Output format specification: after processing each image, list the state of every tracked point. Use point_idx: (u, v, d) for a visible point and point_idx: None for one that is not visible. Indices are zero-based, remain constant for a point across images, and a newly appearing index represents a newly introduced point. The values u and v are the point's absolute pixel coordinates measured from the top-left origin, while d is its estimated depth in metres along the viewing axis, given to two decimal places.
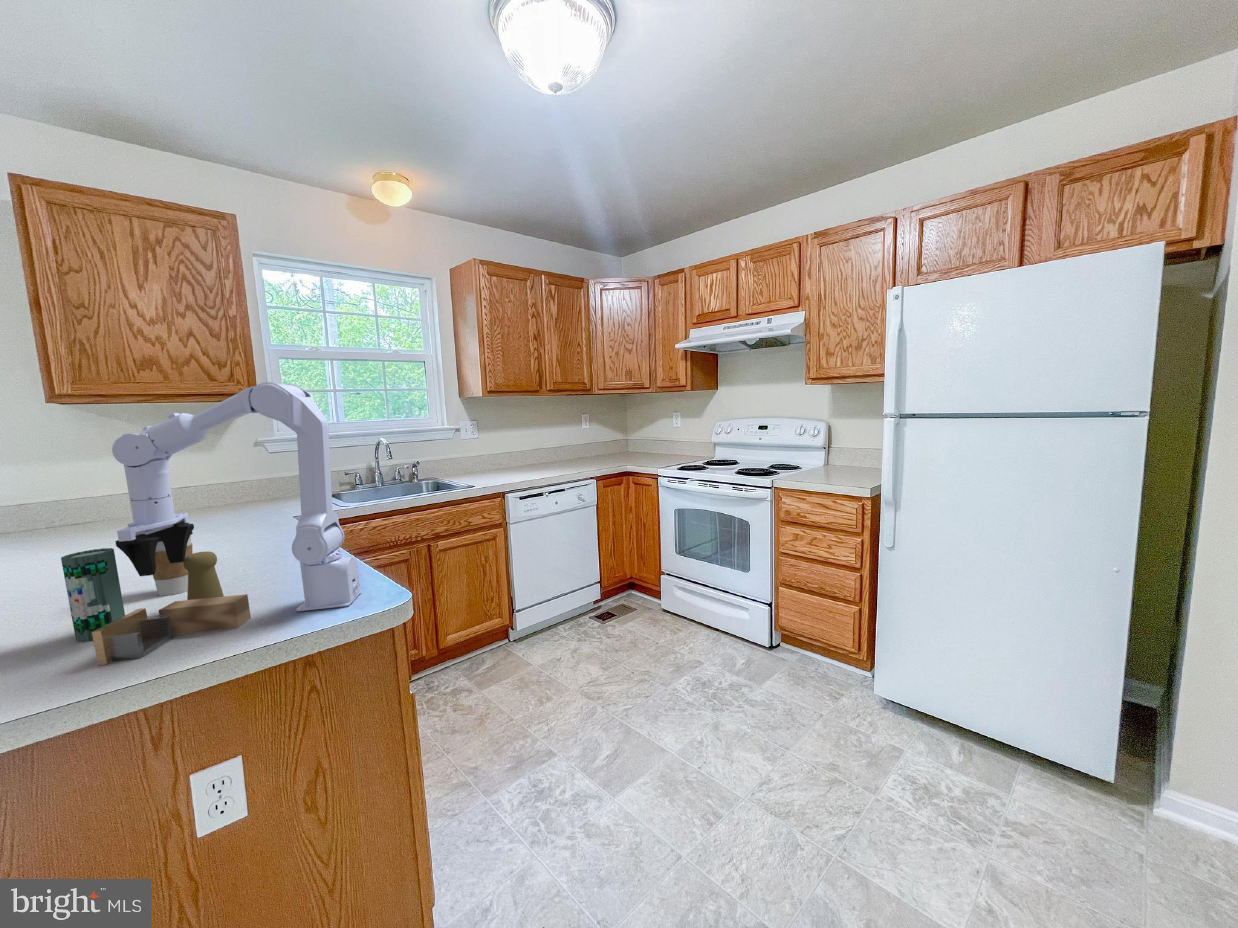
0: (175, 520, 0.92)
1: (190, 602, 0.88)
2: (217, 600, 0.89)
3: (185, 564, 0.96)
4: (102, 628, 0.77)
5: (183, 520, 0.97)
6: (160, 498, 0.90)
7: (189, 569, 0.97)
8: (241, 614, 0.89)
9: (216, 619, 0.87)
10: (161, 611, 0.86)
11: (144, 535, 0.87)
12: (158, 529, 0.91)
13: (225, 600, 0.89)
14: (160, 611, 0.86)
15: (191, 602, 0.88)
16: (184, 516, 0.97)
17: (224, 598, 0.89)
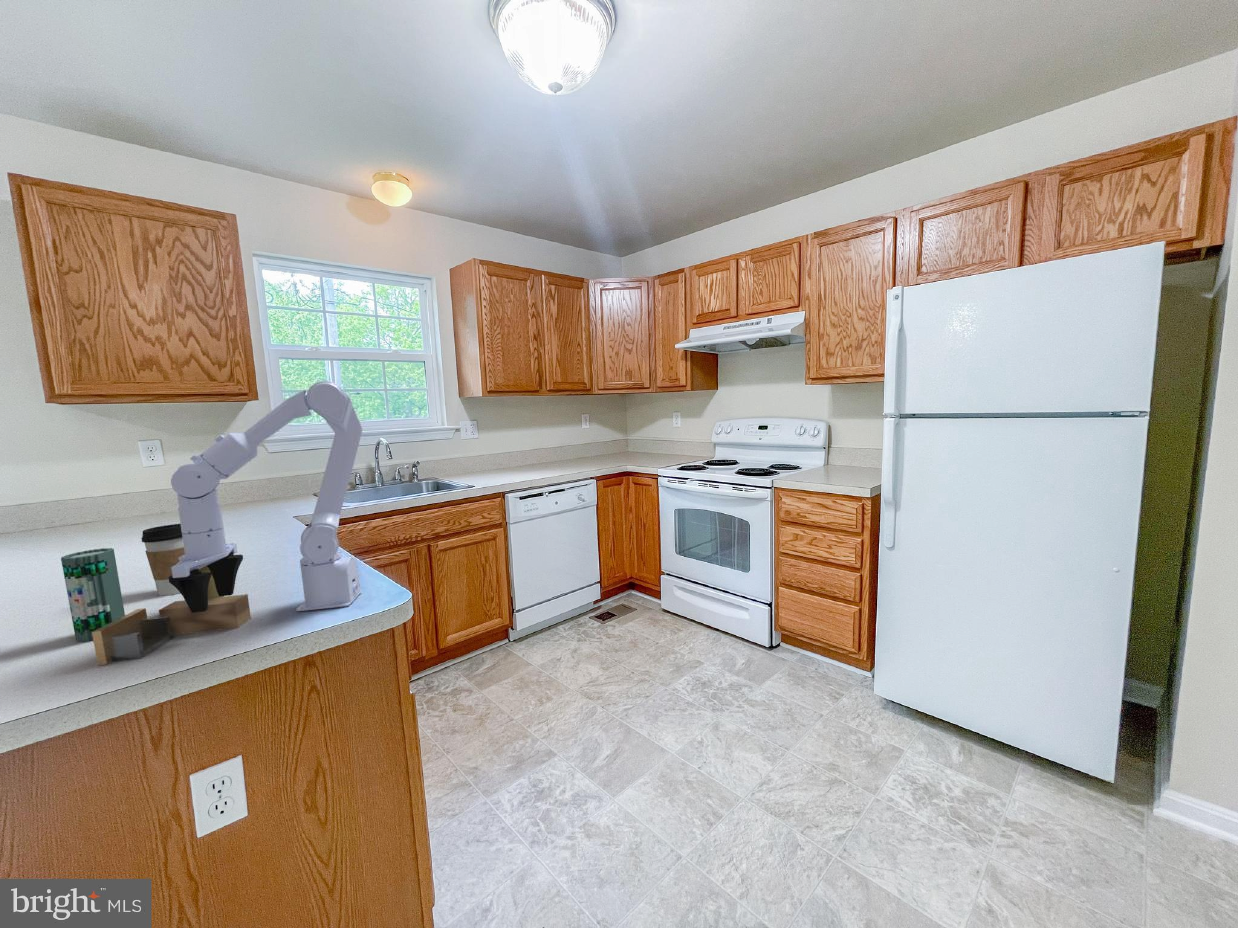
0: (227, 553, 0.89)
1: None
2: (217, 600, 0.89)
3: None
4: (102, 628, 0.77)
5: (232, 551, 0.94)
6: (213, 531, 0.86)
7: None
8: (241, 614, 0.89)
9: (217, 619, 0.87)
10: (161, 611, 0.86)
11: (197, 570, 0.84)
12: (209, 562, 0.88)
13: (225, 600, 0.89)
14: (160, 611, 0.86)
15: None
16: (233, 547, 0.94)
17: (224, 598, 0.89)
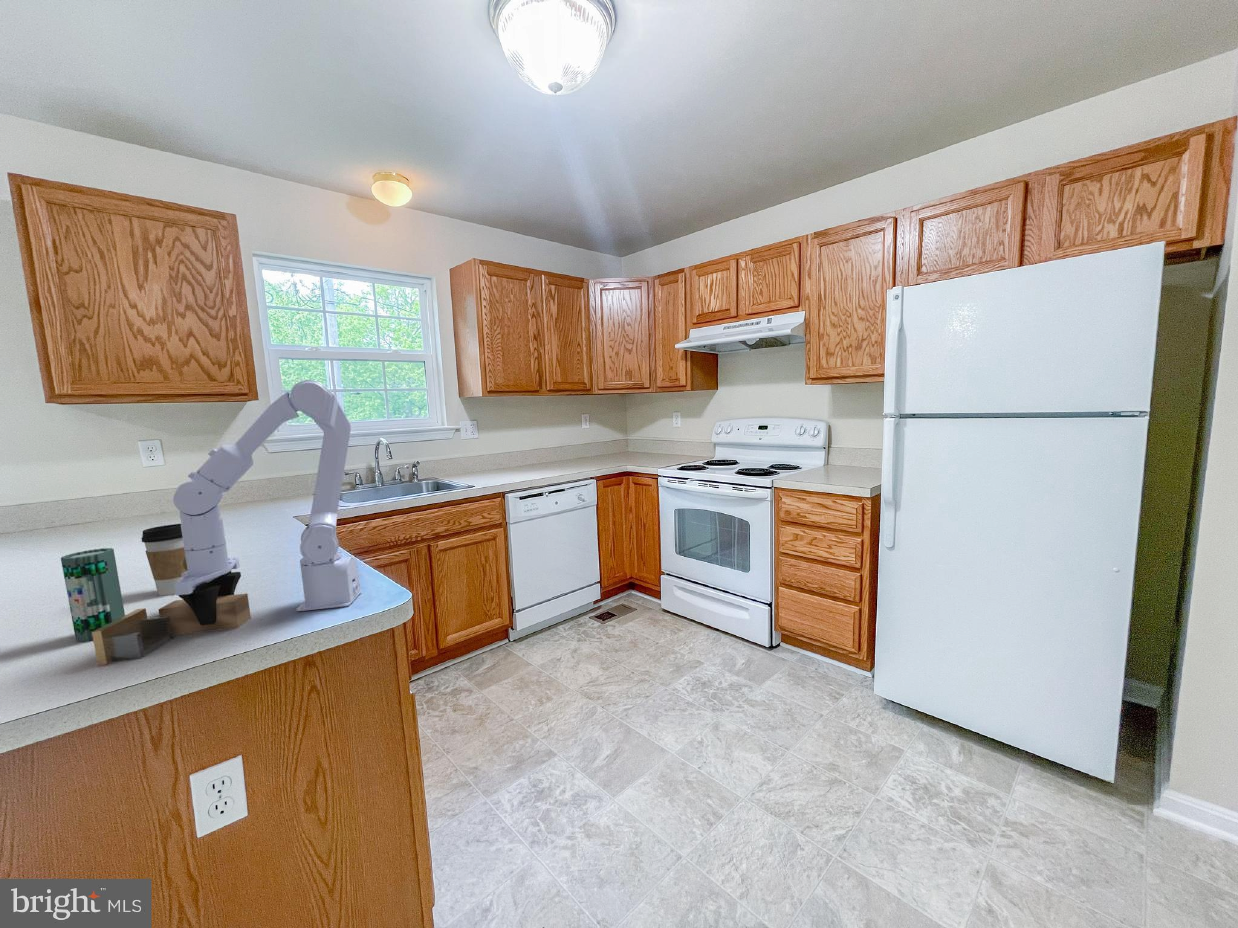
0: (229, 568, 0.89)
1: None
2: (217, 599, 0.89)
3: (184, 564, 0.96)
4: (102, 628, 0.77)
5: (234, 566, 0.94)
6: (215, 547, 0.86)
7: None
8: (241, 613, 0.89)
9: (216, 618, 0.87)
10: (161, 610, 0.86)
11: (200, 587, 0.84)
12: (212, 578, 0.88)
13: (225, 599, 0.89)
14: (160, 610, 0.85)
15: None
16: (235, 562, 0.94)
17: (224, 597, 0.89)
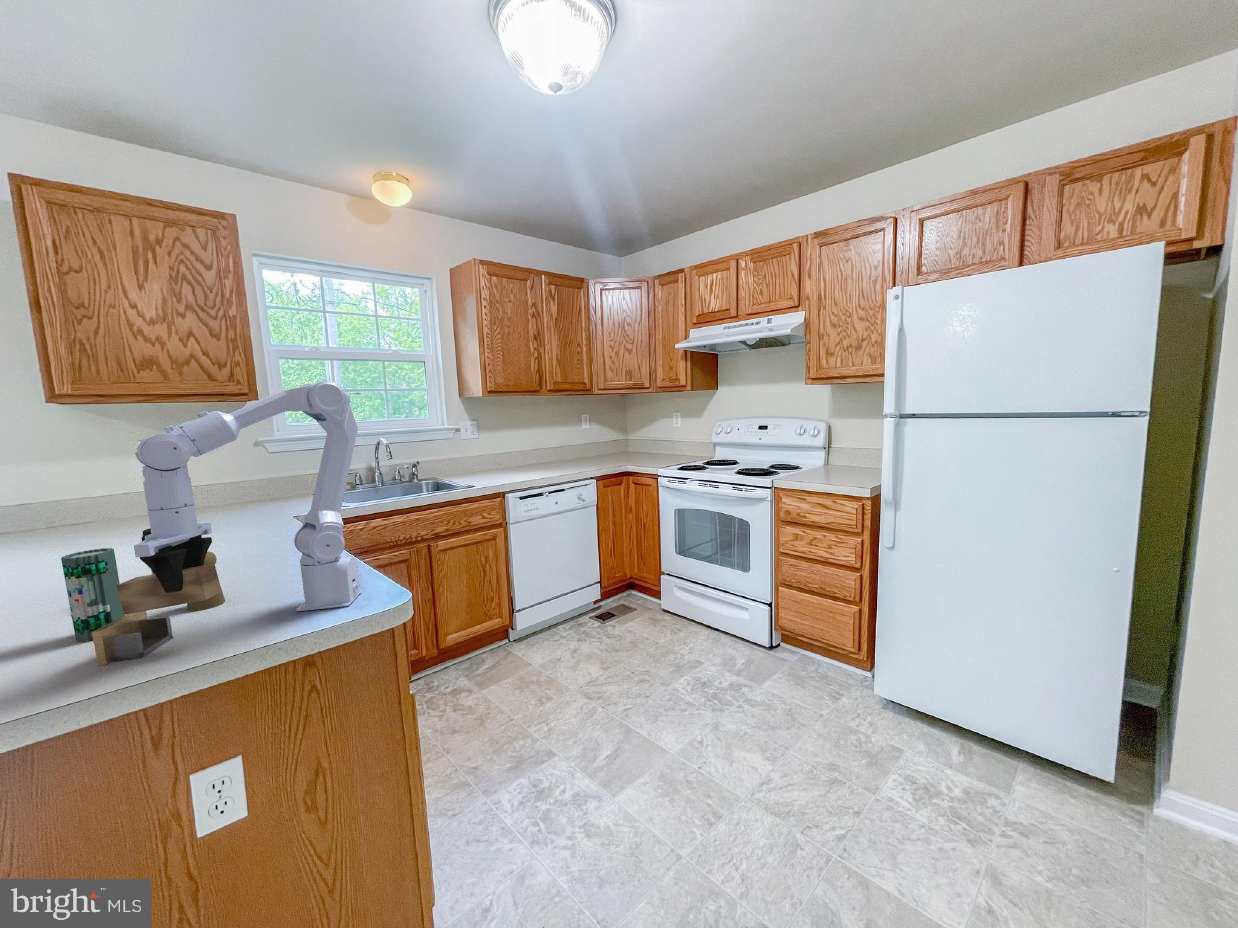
0: (198, 532, 0.82)
1: (152, 576, 0.81)
2: None
3: None
4: (102, 628, 0.77)
5: (205, 531, 0.87)
6: (182, 507, 0.79)
7: None
8: (209, 584, 0.82)
9: (181, 591, 0.80)
10: (119, 586, 0.78)
11: (164, 549, 0.77)
12: (179, 542, 0.81)
13: (189, 570, 0.81)
14: (118, 586, 0.78)
15: (153, 576, 0.81)
16: (207, 526, 0.87)
17: (188, 569, 0.82)
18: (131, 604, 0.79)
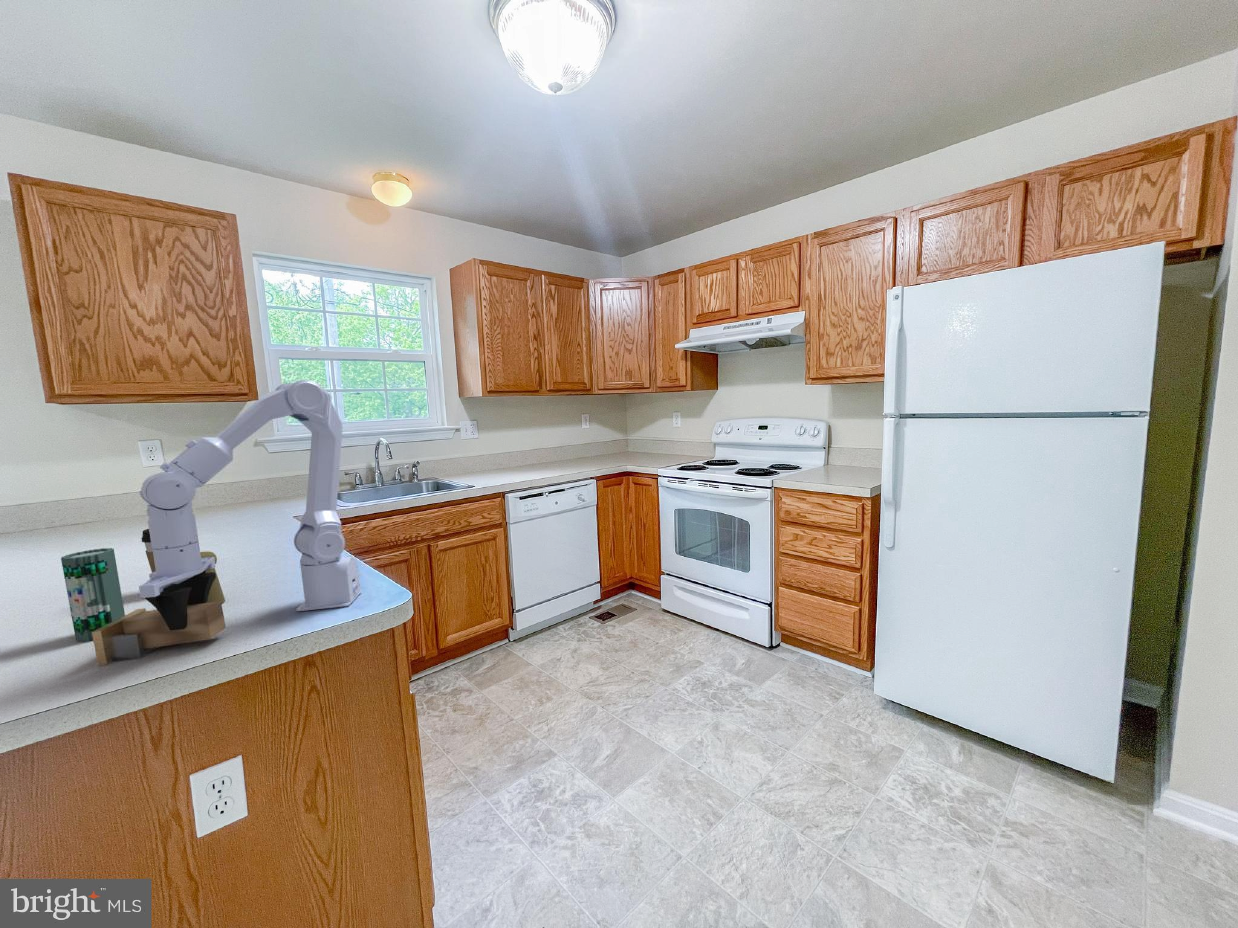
0: (202, 568, 0.82)
1: (158, 612, 0.81)
2: (187, 609, 0.82)
3: None
4: (102, 628, 0.77)
5: (209, 566, 0.87)
6: (186, 545, 0.79)
7: None
8: (214, 622, 0.82)
9: (187, 629, 0.80)
10: (125, 623, 0.78)
11: (168, 588, 0.77)
12: (183, 579, 0.81)
13: (196, 608, 0.82)
14: (124, 623, 0.78)
15: None
16: (210, 561, 0.87)
17: (195, 606, 0.82)
18: None
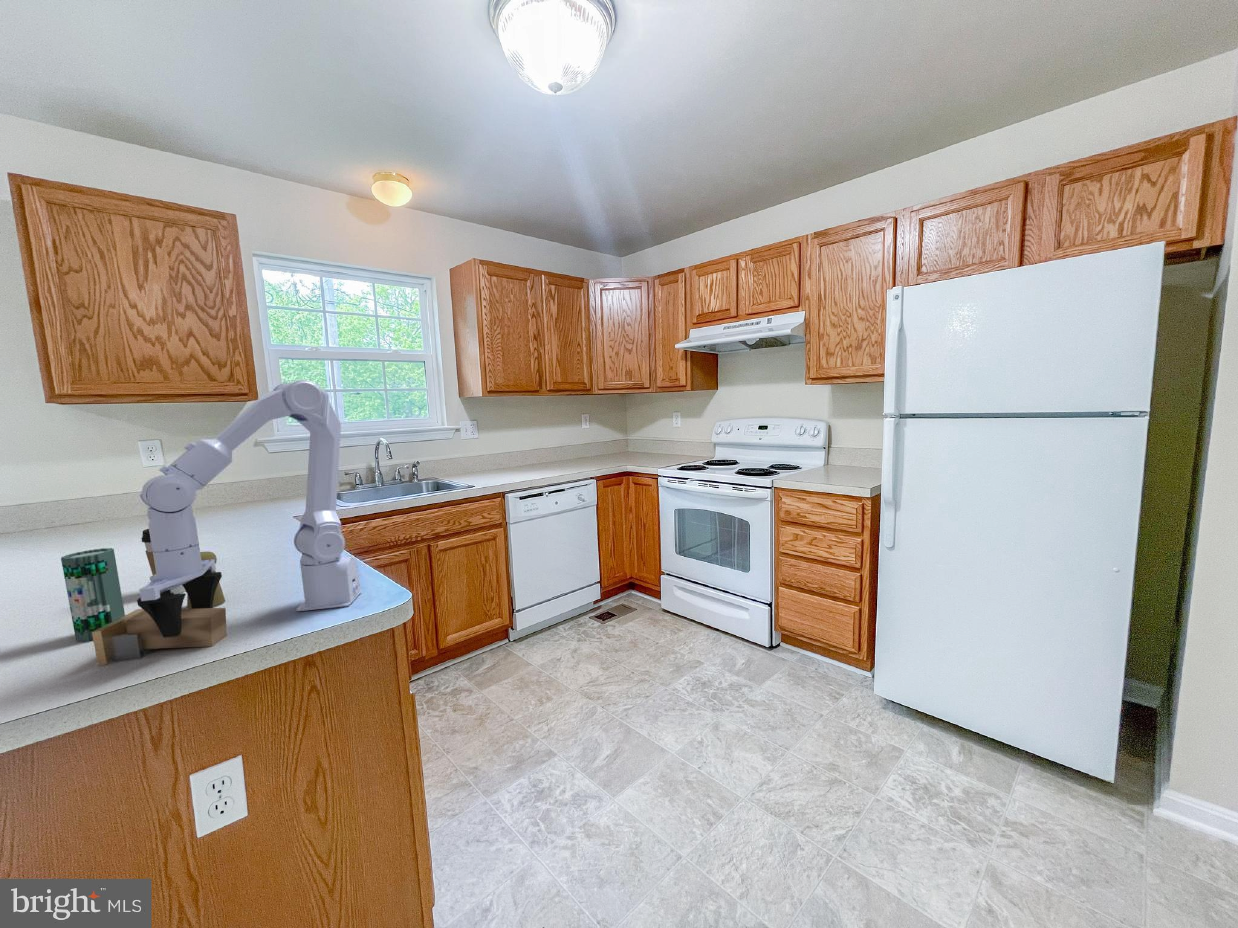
0: (202, 571, 0.82)
1: None
2: (191, 613, 0.82)
3: None
4: (102, 628, 0.77)
5: (210, 568, 0.87)
6: (186, 548, 0.79)
7: None
8: (216, 629, 0.82)
9: (189, 634, 0.80)
10: (129, 621, 0.79)
11: (169, 591, 0.77)
12: (183, 582, 0.81)
13: (200, 613, 0.82)
14: (128, 621, 0.79)
15: None
16: (211, 564, 0.87)
17: (199, 611, 0.83)
18: None
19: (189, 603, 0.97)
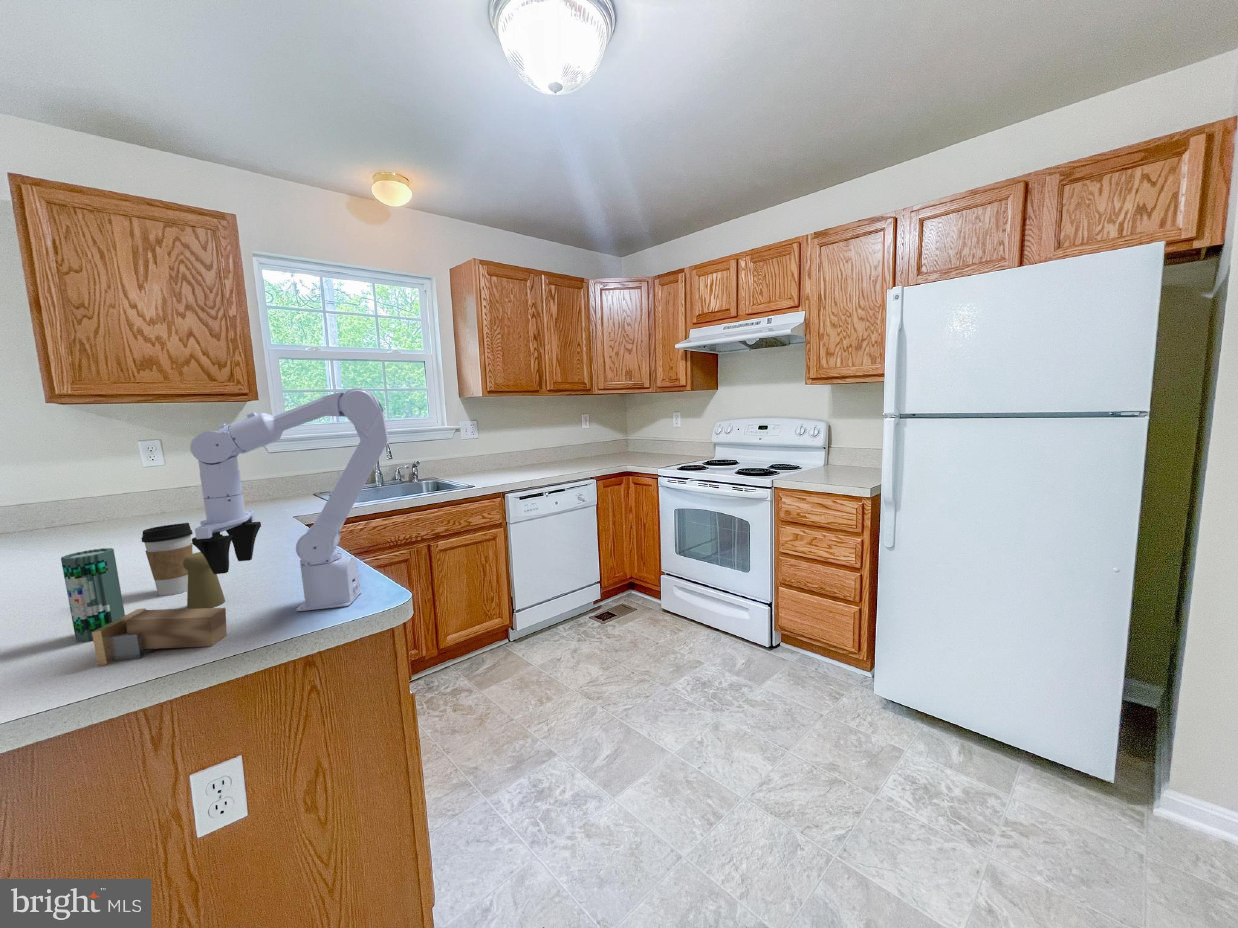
0: (246, 518, 0.92)
1: (162, 613, 0.81)
2: (191, 613, 0.82)
3: (185, 564, 0.96)
4: (102, 628, 0.77)
5: (250, 518, 0.97)
6: (233, 496, 0.89)
7: (189, 569, 0.97)
8: (216, 629, 0.82)
9: (189, 634, 0.80)
10: (129, 621, 0.79)
11: (219, 533, 0.87)
12: (229, 527, 0.91)
13: (200, 613, 0.82)
14: (128, 621, 0.79)
15: (163, 613, 0.81)
16: (251, 514, 0.97)
17: (199, 611, 0.83)
18: None
19: (189, 603, 0.97)
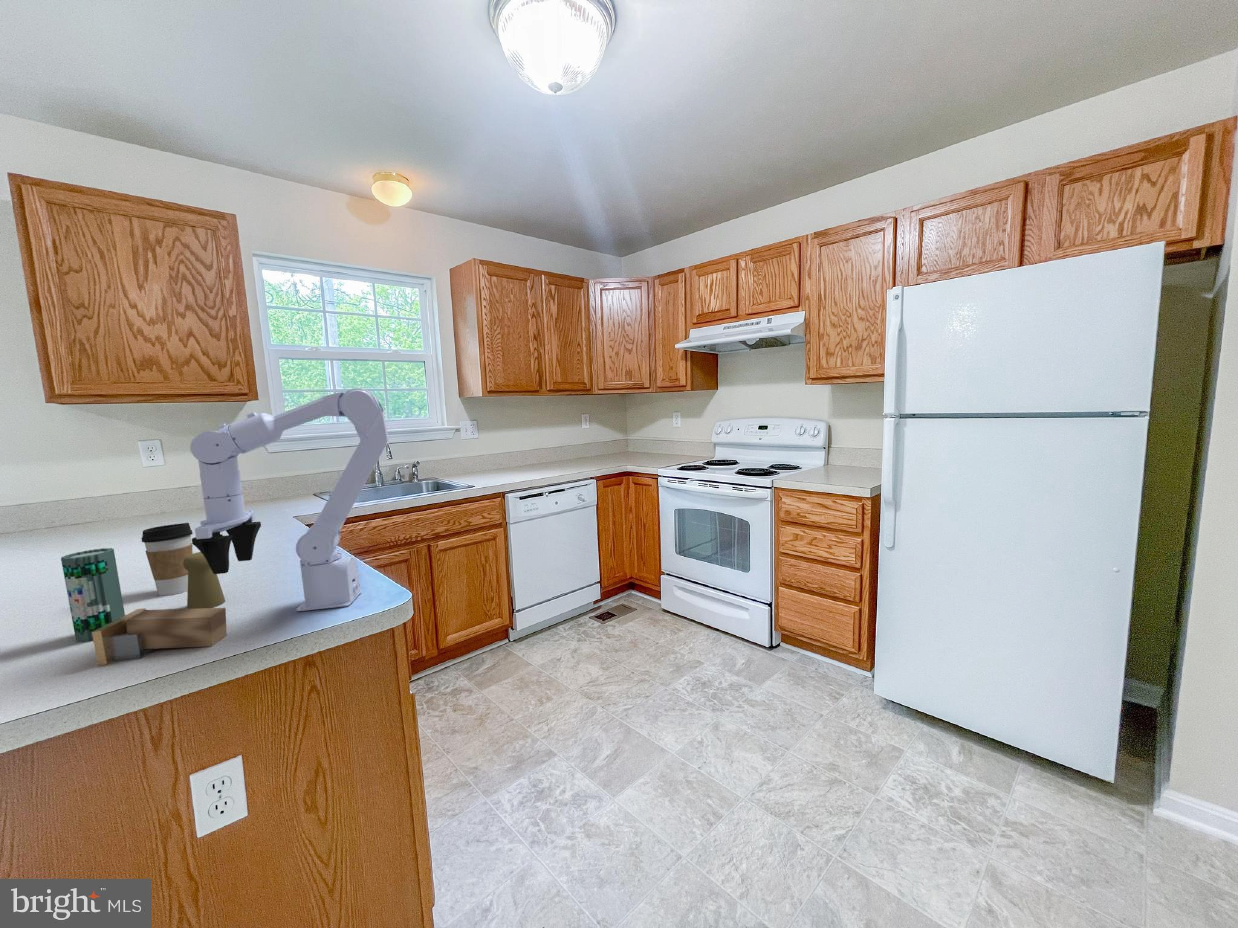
0: (246, 518, 0.92)
1: (162, 613, 0.81)
2: (191, 613, 0.82)
3: (185, 564, 0.96)
4: (102, 628, 0.77)
5: (250, 518, 0.97)
6: (233, 496, 0.89)
7: (189, 569, 0.97)
8: (216, 629, 0.82)
9: (189, 634, 0.80)
10: (129, 621, 0.79)
11: (219, 533, 0.87)
12: (229, 527, 0.91)
13: (200, 613, 0.82)
14: (128, 621, 0.79)
15: (163, 613, 0.81)
16: (251, 514, 0.97)
17: (199, 611, 0.83)
18: None
19: (189, 603, 0.97)
